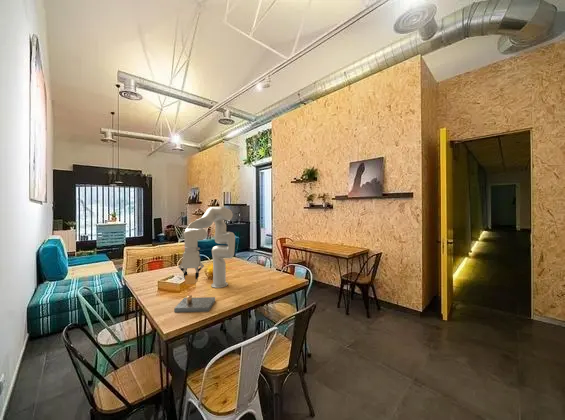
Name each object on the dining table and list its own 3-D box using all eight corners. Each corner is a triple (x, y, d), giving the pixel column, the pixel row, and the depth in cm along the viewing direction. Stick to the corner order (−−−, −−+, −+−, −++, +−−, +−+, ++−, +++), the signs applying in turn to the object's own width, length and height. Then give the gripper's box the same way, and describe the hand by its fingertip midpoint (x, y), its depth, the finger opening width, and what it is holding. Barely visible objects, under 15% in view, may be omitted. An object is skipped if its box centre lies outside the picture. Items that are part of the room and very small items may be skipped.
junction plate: (184, 301, 157) (184, 291, 156) (215, 301, 158) (215, 291, 157) (174, 312, 141) (174, 301, 140) (208, 311, 142) (208, 300, 141)
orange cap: (188, 281, 152) (188, 273, 152) (197, 280, 152) (197, 273, 152) (185, 284, 146) (185, 275, 146) (195, 283, 146) (195, 275, 146)
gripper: (206, 248, 153) (206, 276, 153) (179, 248, 152) (179, 277, 152) (203, 250, 145) (203, 280, 145) (174, 251, 144) (174, 280, 144)
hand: (191, 278), depth 149 cm, fingers closed on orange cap, 6 cm apart
